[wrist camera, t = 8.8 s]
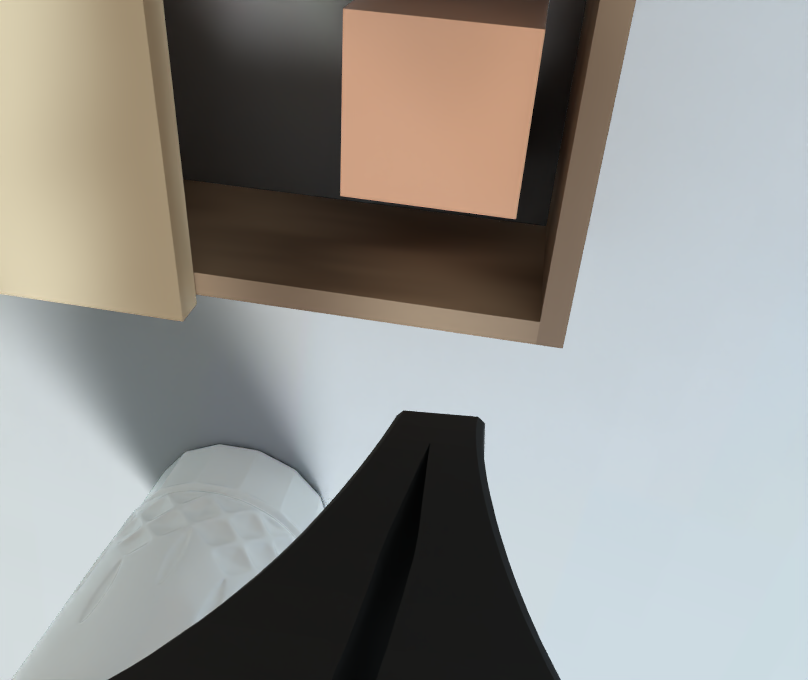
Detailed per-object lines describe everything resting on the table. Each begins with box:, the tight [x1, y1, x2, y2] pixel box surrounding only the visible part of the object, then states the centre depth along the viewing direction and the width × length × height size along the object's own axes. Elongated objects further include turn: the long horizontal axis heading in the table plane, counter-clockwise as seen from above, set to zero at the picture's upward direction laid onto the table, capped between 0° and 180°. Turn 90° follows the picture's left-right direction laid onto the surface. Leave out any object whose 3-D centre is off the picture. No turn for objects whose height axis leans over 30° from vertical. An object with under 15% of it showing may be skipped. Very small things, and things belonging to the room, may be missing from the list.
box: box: [183, 0, 636, 348], centre depth 18 cm, size 12×9×5 cm
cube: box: [340, 0, 549, 219], centre depth 18 cm, size 4×4×4 cm
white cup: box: [11, 444, 324, 680], centre depth 26 cm, size 8×8×10 cm
